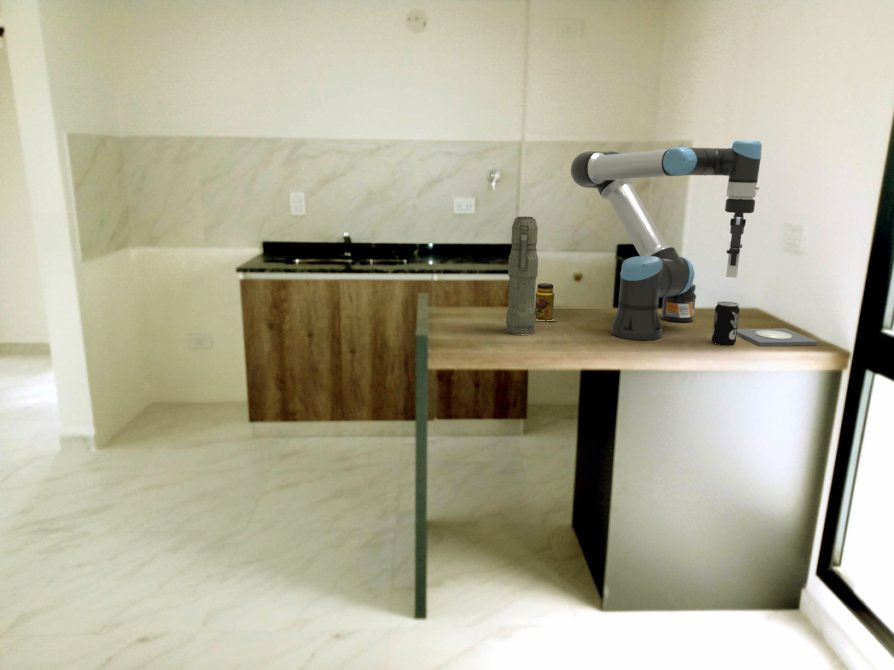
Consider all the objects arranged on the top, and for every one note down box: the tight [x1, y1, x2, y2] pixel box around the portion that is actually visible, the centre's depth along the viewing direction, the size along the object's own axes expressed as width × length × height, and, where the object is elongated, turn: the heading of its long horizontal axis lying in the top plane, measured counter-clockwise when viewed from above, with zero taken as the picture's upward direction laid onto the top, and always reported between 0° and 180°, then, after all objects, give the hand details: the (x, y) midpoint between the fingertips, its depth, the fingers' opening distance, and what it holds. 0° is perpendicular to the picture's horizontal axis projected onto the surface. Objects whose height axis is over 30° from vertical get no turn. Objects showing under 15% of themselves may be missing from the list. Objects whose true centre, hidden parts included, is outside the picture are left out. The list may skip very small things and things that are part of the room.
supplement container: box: [660, 283, 697, 323], centre depth 227 cm, size 10×10×12 cm
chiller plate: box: [736, 327, 819, 347], centre depth 205 cm, size 18×16×2 cm
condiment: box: [534, 282, 555, 321], centre depth 225 cm, size 7×8×12 cm
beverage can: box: [711, 301, 740, 346], centre depth 198 cm, size 7×7×12 cm
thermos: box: [505, 216, 539, 336], centre depth 205 cm, size 9×12×35 cm
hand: (731, 273), depth 194 cm, fingers open, 13 cm apart
